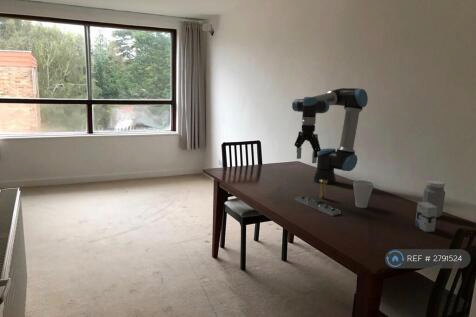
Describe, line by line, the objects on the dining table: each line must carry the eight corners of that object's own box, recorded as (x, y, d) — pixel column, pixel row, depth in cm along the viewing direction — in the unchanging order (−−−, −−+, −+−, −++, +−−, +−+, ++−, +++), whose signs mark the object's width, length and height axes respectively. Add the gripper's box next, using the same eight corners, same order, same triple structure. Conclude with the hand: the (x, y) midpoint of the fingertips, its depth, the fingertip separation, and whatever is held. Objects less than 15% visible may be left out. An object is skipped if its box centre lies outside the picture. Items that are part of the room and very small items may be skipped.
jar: (417, 211, 192) (421, 179, 189) (435, 212, 192) (440, 179, 188) (426, 217, 183) (430, 184, 179) (445, 218, 182) (450, 184, 179)
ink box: (414, 224, 173) (417, 201, 170) (423, 224, 173) (427, 201, 171) (424, 231, 164) (428, 207, 162) (434, 231, 165) (438, 207, 163)
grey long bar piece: (294, 200, 206) (295, 194, 205) (303, 198, 209) (303, 192, 208) (331, 216, 182) (332, 209, 181) (340, 213, 185) (341, 207, 185)
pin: (322, 196, 214) (323, 178, 212) (328, 198, 210) (329, 180, 208) (316, 197, 212) (317, 179, 210) (322, 199, 208) (323, 181, 206)
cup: (361, 210, 191) (363, 186, 189) (347, 204, 200) (349, 181, 198) (375, 207, 196) (377, 184, 193) (360, 202, 205) (363, 179, 203)
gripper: (289, 122, 212) (287, 157, 217) (318, 127, 191) (316, 165, 195) (299, 122, 216) (297, 156, 220) (329, 126, 195) (326, 164, 199)
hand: (306, 160), depth 208 cm, fingers open, 13 cm apart
